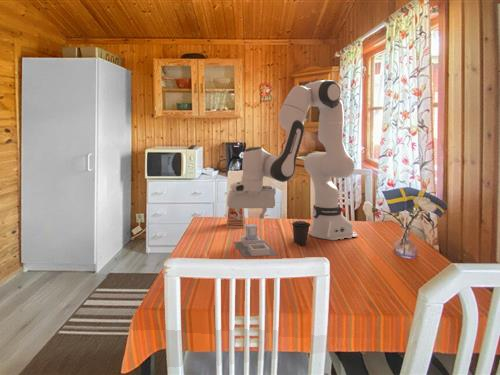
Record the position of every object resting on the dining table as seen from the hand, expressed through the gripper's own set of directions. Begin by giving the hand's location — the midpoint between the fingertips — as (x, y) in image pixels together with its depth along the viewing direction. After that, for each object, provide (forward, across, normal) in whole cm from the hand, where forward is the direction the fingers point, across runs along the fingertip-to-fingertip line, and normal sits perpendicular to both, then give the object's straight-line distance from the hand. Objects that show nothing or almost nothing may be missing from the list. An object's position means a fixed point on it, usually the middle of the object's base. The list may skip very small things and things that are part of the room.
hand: (250, 218), depth 169 cm
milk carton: (+12, -2, -35) cm, 37 cm away
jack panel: (+12, -1, +6) cm, 13 cm away
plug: (+11, -1, 0) cm, 11 cm away
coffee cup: (+12, -23, +1) cm, 26 cm away
